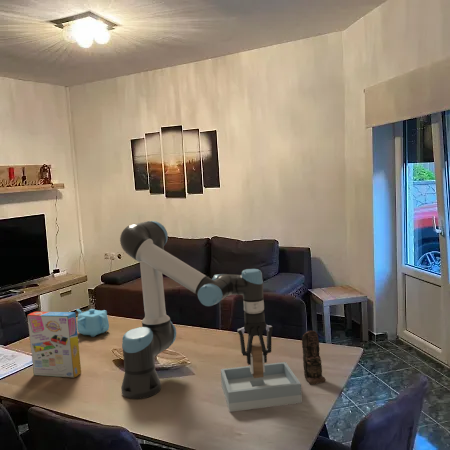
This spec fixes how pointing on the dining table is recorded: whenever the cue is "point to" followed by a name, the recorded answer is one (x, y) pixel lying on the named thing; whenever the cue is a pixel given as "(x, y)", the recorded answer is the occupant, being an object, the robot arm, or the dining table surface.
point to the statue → (312, 358)
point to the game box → (54, 344)
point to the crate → (260, 387)
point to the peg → (257, 360)
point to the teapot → (92, 322)
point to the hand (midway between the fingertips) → (257, 371)
